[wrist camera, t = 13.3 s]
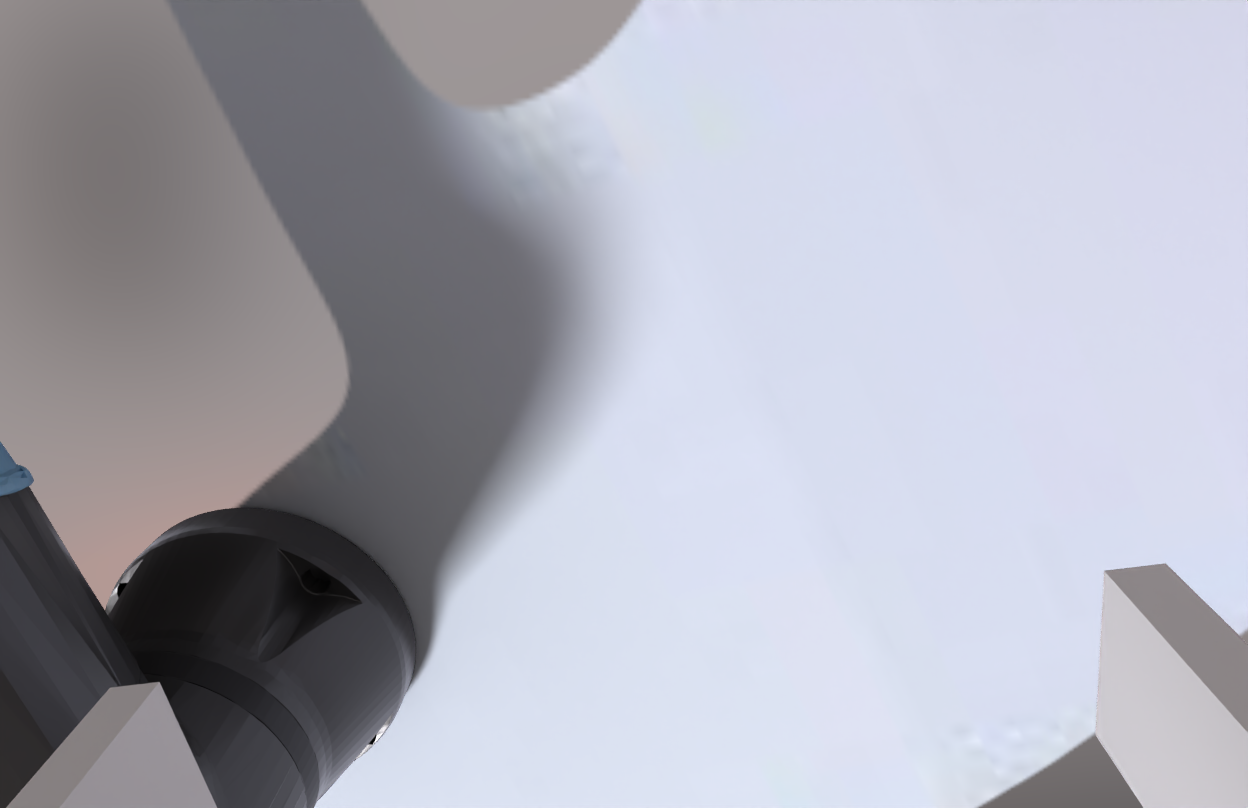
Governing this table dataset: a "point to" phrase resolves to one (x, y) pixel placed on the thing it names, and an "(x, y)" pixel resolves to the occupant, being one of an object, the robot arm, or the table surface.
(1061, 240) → the table surface
